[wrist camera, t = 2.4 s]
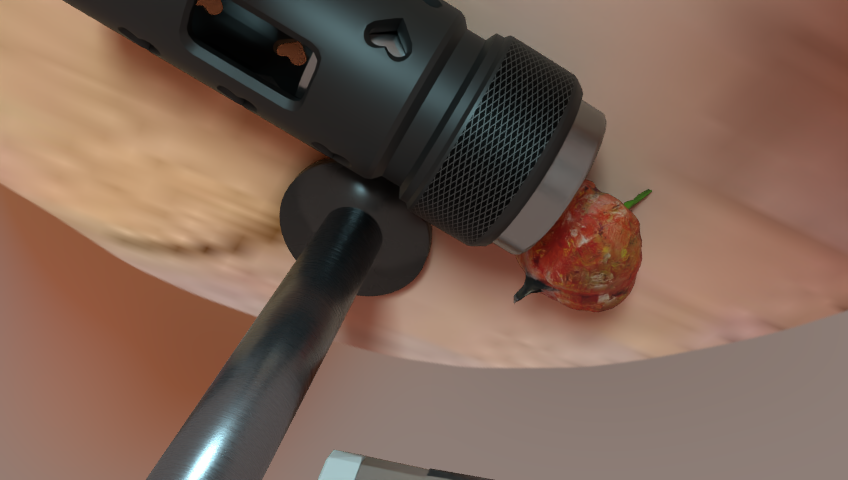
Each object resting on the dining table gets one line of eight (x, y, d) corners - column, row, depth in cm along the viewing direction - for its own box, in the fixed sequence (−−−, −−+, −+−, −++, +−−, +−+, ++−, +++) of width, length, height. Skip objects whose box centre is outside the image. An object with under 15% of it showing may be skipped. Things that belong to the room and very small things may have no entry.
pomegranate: (597, 122, 37) (455, 211, 36) (693, 157, 31) (527, 266, 30) (623, 222, 41) (496, 306, 40) (712, 270, 35) (567, 372, 34)
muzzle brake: (129, -241, 31) (-48, -263, 22) (616, 68, 33) (621, 152, 25) (95, -53, 36) (-58, -14, 28) (516, 200, 39) (493, 305, 30)
